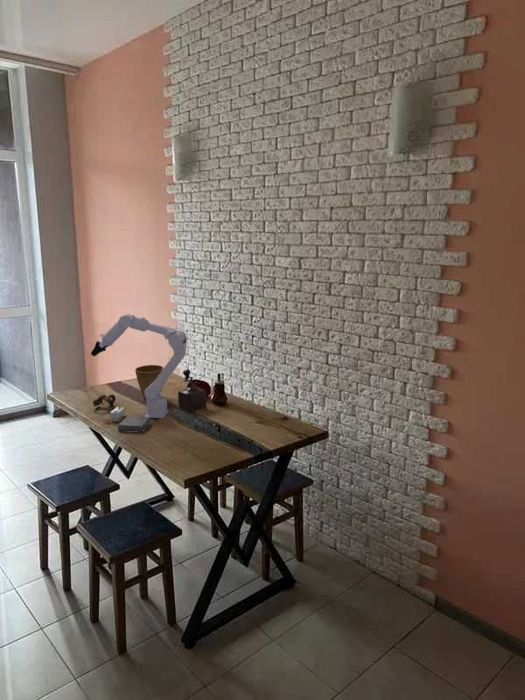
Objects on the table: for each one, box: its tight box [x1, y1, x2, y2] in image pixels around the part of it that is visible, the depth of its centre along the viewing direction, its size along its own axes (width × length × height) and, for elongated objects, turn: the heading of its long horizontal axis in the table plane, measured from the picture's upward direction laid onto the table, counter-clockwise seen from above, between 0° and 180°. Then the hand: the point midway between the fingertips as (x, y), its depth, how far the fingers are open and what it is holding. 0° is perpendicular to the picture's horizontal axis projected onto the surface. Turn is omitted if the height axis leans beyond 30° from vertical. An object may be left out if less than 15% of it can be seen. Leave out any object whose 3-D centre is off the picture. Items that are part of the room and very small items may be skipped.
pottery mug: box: [92, 394, 116, 410], centre depth 272 cm, size 12×10×8 cm
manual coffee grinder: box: [177, 369, 208, 414], centre depth 271 cm, size 16×11×18 cm
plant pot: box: [134, 364, 165, 399], centre depth 288 cm, size 15×15×16 cm
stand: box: [117, 416, 151, 433], centre depth 245 cm, size 11×11×3 cm
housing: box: [109, 406, 126, 421], centre depth 257 cm, size 8×4×5 cm, turn 173°
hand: (95, 352), depth 257 cm, fingers open, 7 cm apart
